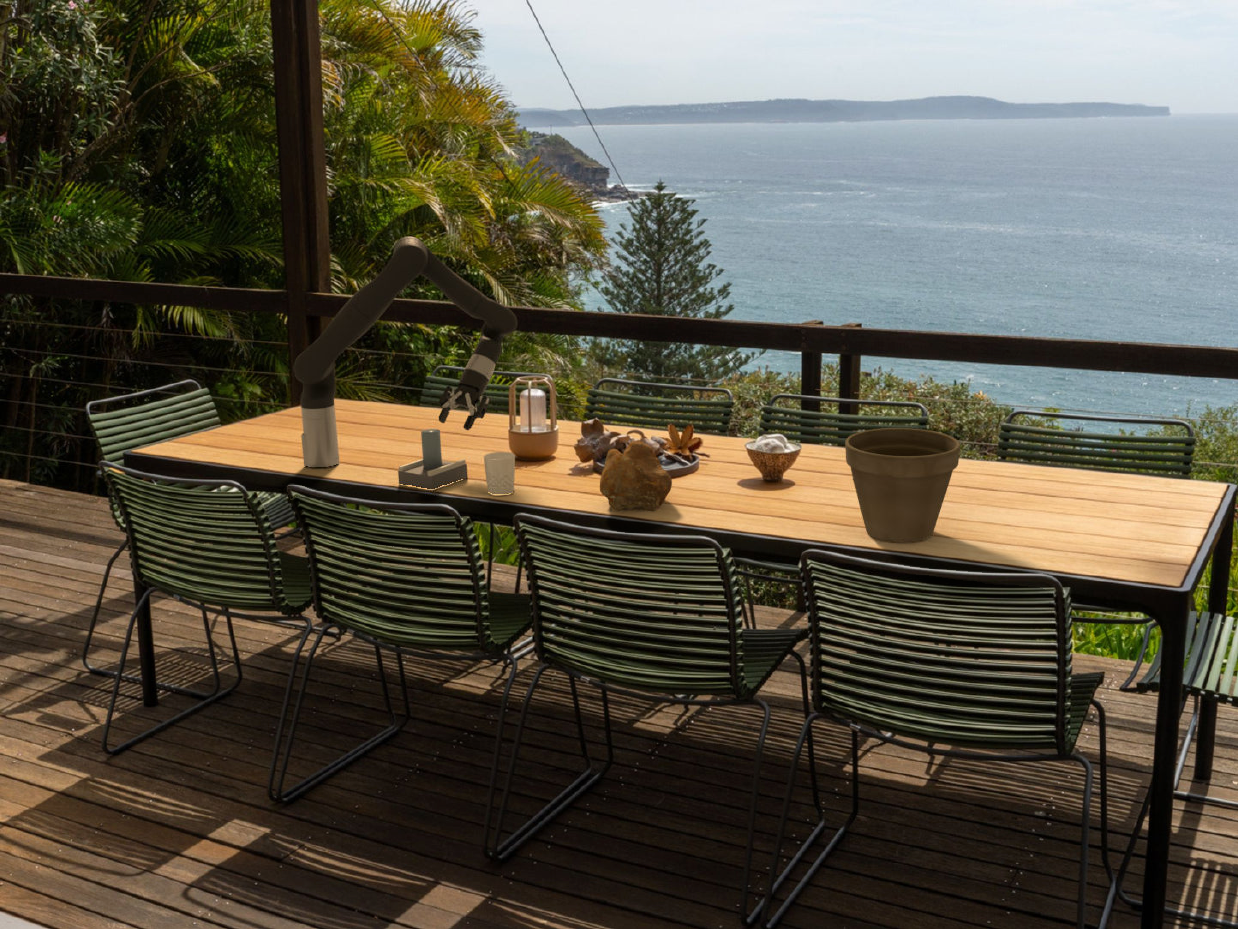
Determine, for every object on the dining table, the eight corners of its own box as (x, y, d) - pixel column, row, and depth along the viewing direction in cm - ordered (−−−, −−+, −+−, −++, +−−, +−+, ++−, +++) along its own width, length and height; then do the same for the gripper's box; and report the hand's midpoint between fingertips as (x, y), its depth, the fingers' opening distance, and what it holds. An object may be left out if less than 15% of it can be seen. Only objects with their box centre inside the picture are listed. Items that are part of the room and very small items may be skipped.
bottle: (421, 469, 318) (419, 433, 316) (425, 465, 323) (423, 429, 320) (440, 469, 318) (437, 433, 315) (444, 464, 323) (441, 428, 320)
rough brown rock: (653, 525, 283) (658, 464, 279) (589, 512, 289) (593, 453, 285) (685, 501, 304) (690, 444, 300) (625, 490, 310) (629, 434, 306)
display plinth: (432, 491, 313) (431, 472, 311) (399, 485, 319) (397, 466, 318) (467, 478, 324) (466, 459, 322) (434, 472, 330) (433, 454, 329)
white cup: (492, 499, 304) (490, 461, 302) (481, 491, 311) (479, 454, 309) (521, 494, 308) (519, 456, 305) (509, 487, 315) (507, 450, 312)
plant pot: (921, 559, 253) (926, 460, 247) (822, 537, 269) (823, 443, 263) (975, 530, 271) (980, 437, 265) (878, 510, 287) (881, 422, 281)
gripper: (450, 362, 333) (426, 414, 329) (492, 373, 326) (467, 425, 322) (463, 374, 339) (439, 425, 335) (504, 385, 333) (480, 437, 329)
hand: (453, 425), depth 329 cm, fingers open, 8 cm apart
